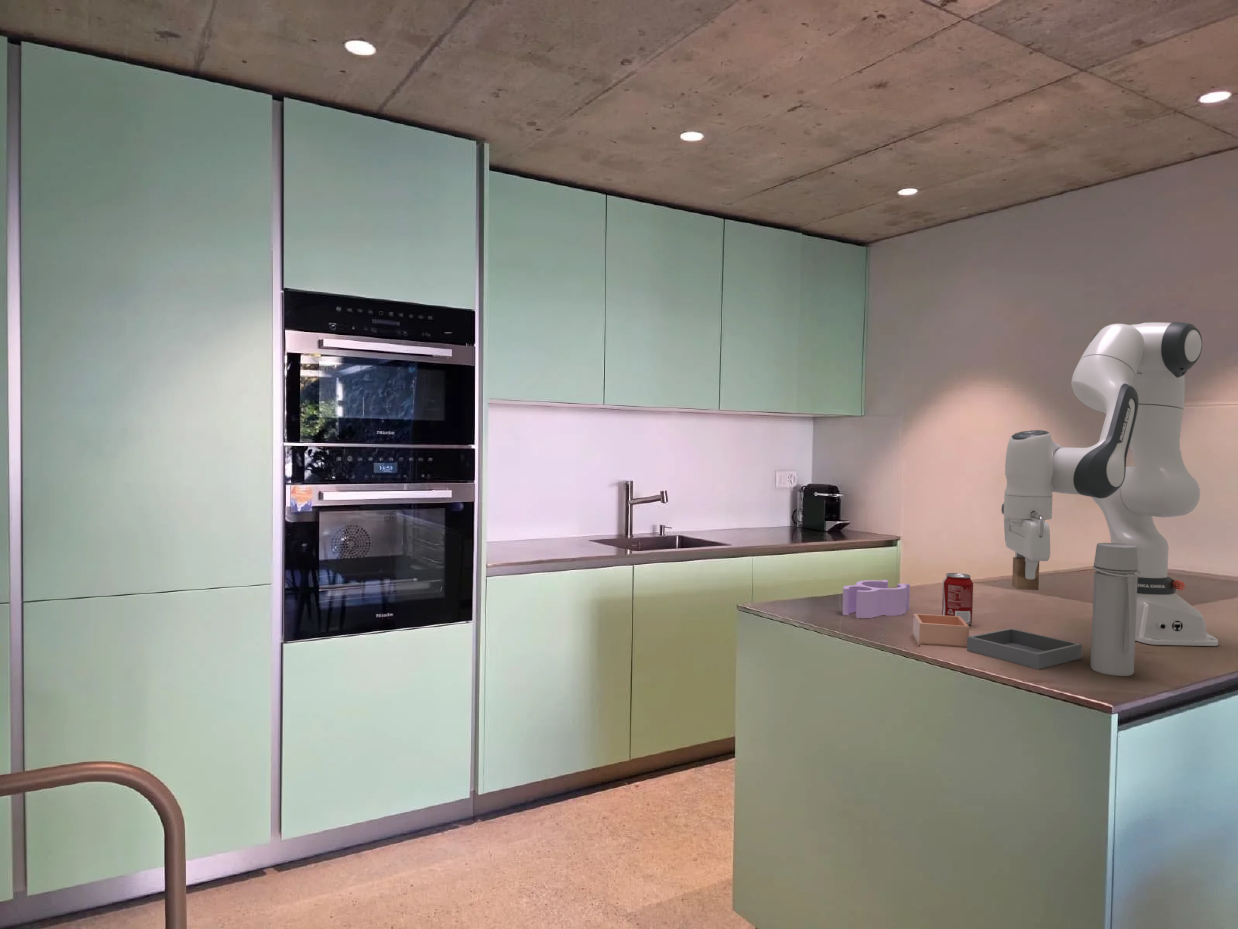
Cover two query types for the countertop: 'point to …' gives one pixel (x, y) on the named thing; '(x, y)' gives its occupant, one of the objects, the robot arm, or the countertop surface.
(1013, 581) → the block
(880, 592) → the clip
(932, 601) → the countertop surface
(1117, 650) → the water bottle
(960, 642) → the peach open box
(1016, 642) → the tray
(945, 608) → the soda can
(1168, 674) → the countertop surface
